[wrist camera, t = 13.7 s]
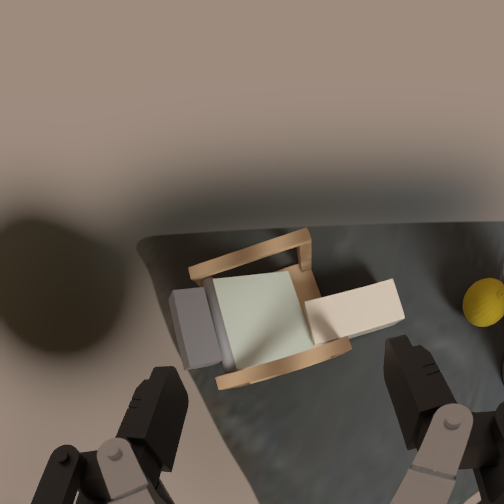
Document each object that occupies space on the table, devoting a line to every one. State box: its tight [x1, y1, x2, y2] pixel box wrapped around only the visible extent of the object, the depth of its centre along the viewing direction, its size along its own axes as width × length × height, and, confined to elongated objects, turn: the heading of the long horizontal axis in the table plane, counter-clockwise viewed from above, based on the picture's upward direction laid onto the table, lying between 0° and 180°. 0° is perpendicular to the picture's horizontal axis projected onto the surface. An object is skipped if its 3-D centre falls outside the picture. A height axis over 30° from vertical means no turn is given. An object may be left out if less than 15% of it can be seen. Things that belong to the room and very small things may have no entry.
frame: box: [188, 228, 352, 390], centre depth 33 cm, size 12×12×10 cm
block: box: [302, 279, 405, 348], centre depth 33 cm, size 4×4×10 cm
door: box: [168, 271, 314, 373], centre depth 31 cm, size 13×9×2 cm
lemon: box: [463, 278, 504, 327], centre depth 29 cm, size 6×6×8 cm
